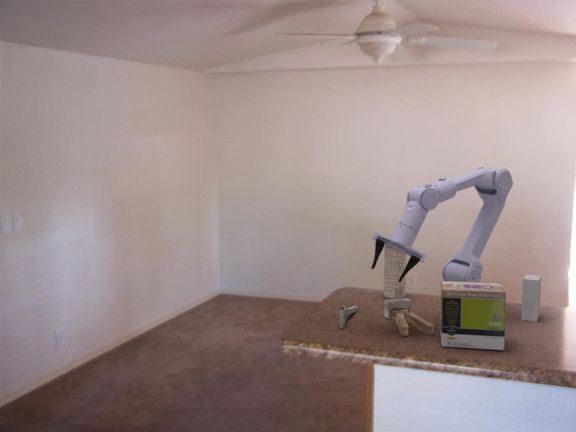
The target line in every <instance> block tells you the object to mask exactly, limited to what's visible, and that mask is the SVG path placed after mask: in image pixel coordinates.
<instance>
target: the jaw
mask: <svg viewBox="0 0 576 432" xmlns="http://www.w3.org/2000/svg"><path fill="white" fill-rule="evenodd" d="M395 321H396V325H397V327H398V330H399V332H400V336H402V337H409V325H408V322H406V319H405V318H404V315H403V313H402V312H401V311H397V312H396V320H395Z"/></svg>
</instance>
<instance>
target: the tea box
mask: <svg viewBox="0 0 576 432" xmlns="http://www.w3.org/2000/svg"><path fill="white" fill-rule="evenodd" d="M506 294H507V292H506V291H505V289H504V287H503V285H502V283H501V282H500V283H499V282H481V281H480V282H455V281H454V282H453V281H444V280H441V282H440V313H441V315H440V320H439V321H440V322H439V323H440V327H439V328H440V342H441V343H440V344H441V347H446V348H447V347H449V348H462V349H463V348H466V349H479V350H491V351H492V350H496V351H504V350H505V344H506V343H505V340H506V339H505V337H506V309H507V308H506V307H507V306H506V305H507V295H506Z"/></svg>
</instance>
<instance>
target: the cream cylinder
mask: <svg viewBox="0 0 576 432" xmlns="http://www.w3.org/2000/svg"><path fill="white" fill-rule="evenodd" d="M393 246H394V245H393ZM395 247H396V246H395ZM397 248H398V247H397ZM399 249H400V248H399ZM401 250H403V249H401ZM403 251H405V250H403ZM383 256H384V257H383V294H382V295H383V298H384V300H388V299H399V298H406V276H407V274H406V275H405V276H404V278H403V279H402V281H401V282H398V280H399V278H400V276H401V275H402V273H403V271H404V269H405V267H406V265H407V254H405V253H403V252H400V251H398V250H396V249H394V248H392V247H390V246H388V245H386V244H385V245H384V248H383Z"/></svg>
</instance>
